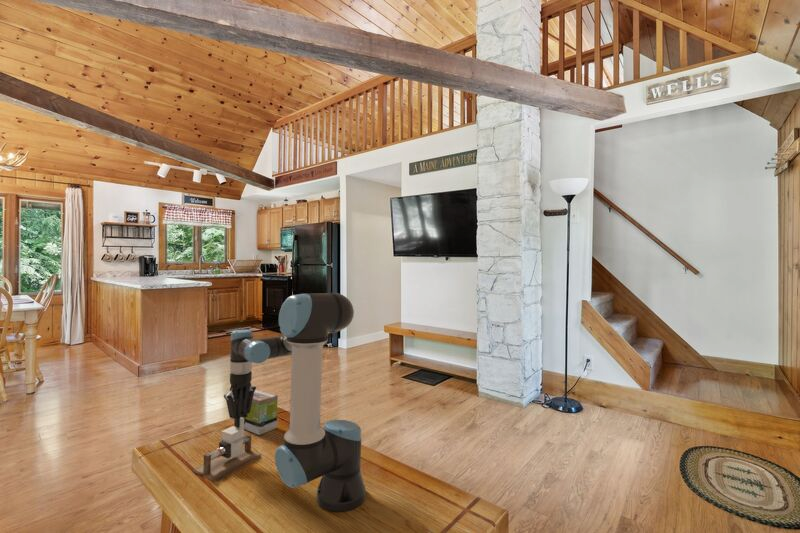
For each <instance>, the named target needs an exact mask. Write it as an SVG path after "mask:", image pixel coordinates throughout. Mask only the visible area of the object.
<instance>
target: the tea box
mask: <svg viewBox="0 0 800 533" xmlns="http://www.w3.org/2000/svg"><path fill="white" fill-rule="evenodd" d="M278 399H279V398H278V395H277V394H275V393H271V392H267V391H264V390H261V389H257V388H256V390H255V392H254V395H253V400H252V405H251V410H250V413H248V414H246V415H248V416H247V417H245V425H244V431H248V432H250V433H253V434H255V435H258V436H260V435H263V434H266V433H268V432H270V431H273V430H275V429H277V427H278V401H279V400H278Z"/></svg>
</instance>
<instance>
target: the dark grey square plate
mask: <svg viewBox="0 0 800 533" xmlns="http://www.w3.org/2000/svg"><path fill="white" fill-rule="evenodd" d="M223 446H226V447H227V454H226V453H225V454H223V455H221V456H223V457H225V458H229V457H231V444H229V443H226V442H223V441H221V440H220V441H219V443H218V448H221V447H223Z"/></svg>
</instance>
